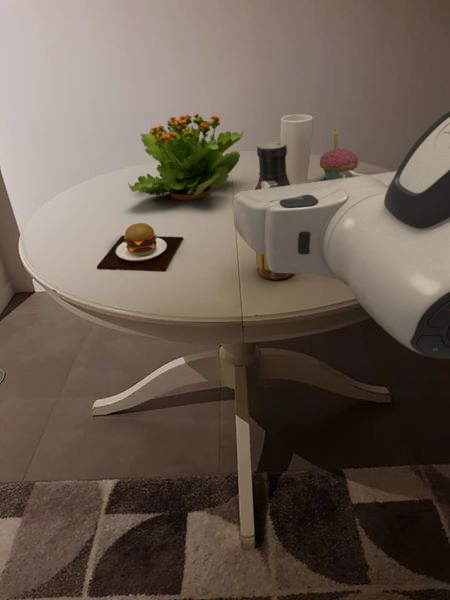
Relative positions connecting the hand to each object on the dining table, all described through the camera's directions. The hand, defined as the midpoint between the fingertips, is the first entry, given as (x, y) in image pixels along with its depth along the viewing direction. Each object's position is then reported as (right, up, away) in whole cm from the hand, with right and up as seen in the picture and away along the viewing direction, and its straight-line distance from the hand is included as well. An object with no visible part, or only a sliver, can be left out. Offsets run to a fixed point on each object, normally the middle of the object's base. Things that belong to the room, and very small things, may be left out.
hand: (306, 182), depth 54 cm
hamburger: (-24, -6, +28) cm, 38 cm away
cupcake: (+16, +14, +54) cm, 58 cm away
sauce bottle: (-1, -9, +20) cm, 22 cm away
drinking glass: (+7, +12, +52) cm, 54 cm away
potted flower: (-17, +11, +53) cm, 57 cm away
